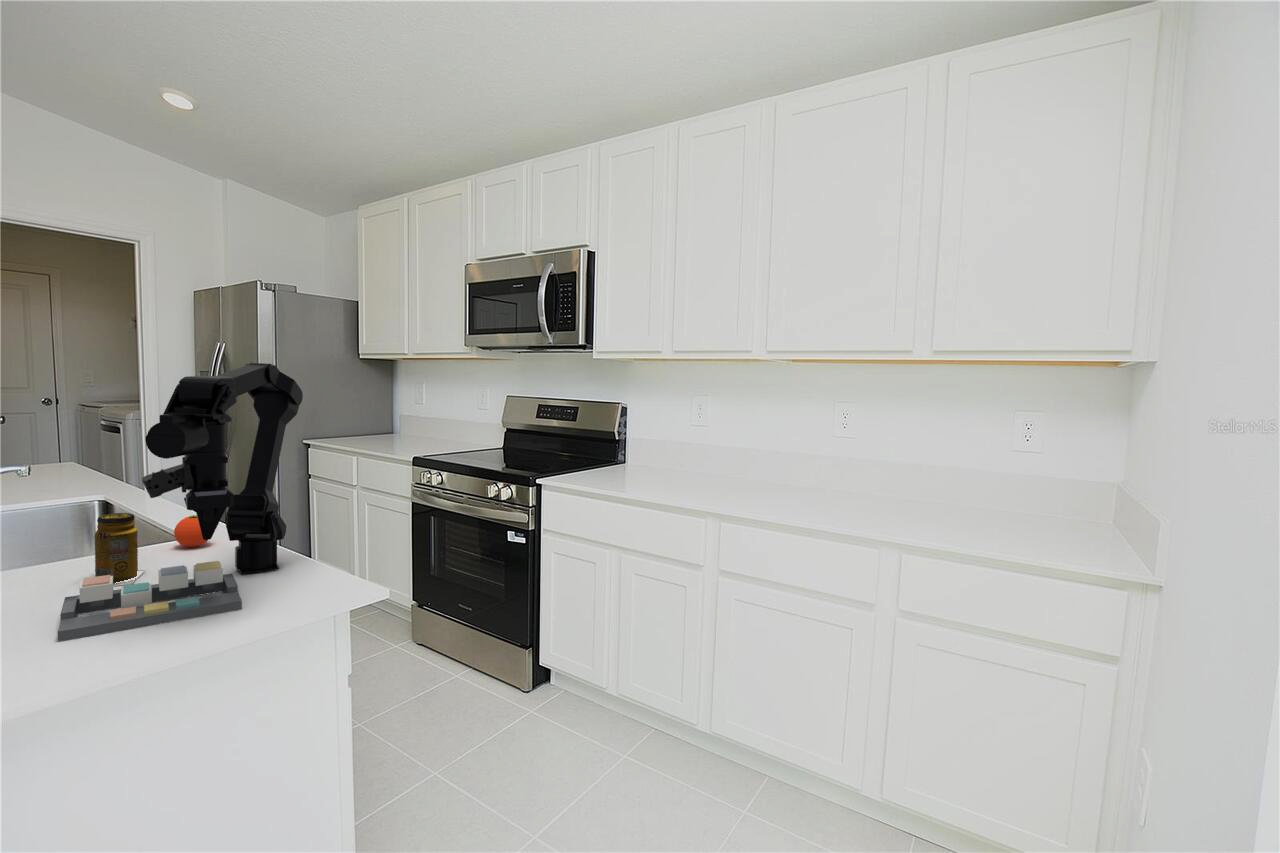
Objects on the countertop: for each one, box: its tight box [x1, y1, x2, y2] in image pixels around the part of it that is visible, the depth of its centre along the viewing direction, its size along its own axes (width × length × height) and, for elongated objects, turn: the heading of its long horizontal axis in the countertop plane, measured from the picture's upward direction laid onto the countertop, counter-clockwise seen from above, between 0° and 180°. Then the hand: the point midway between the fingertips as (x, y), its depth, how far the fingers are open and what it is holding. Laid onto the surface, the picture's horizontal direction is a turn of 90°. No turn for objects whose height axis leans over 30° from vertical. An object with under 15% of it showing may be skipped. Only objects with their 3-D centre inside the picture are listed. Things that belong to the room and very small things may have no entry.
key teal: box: [120, 581, 153, 609], centre depth 98 cm, size 4×4×4 cm
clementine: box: [173, 514, 209, 548], centre depth 133 cm, size 8×7×7 cm
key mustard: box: [193, 560, 224, 590], centre depth 104 cm, size 4×4×4 cm
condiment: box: [93, 512, 146, 587], centre depth 111 cm, size 7×8×12 cm
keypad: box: [57, 572, 243, 642], centre depth 99 cm, size 22×13×2 cm, turn 130°
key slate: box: [157, 564, 189, 595], centre depth 101 cm, size 4×4×4 cm
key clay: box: [78, 575, 114, 607], centre depth 95 cm, size 4×4×4 cm
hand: (207, 539), depth 104 cm, fingers closed
